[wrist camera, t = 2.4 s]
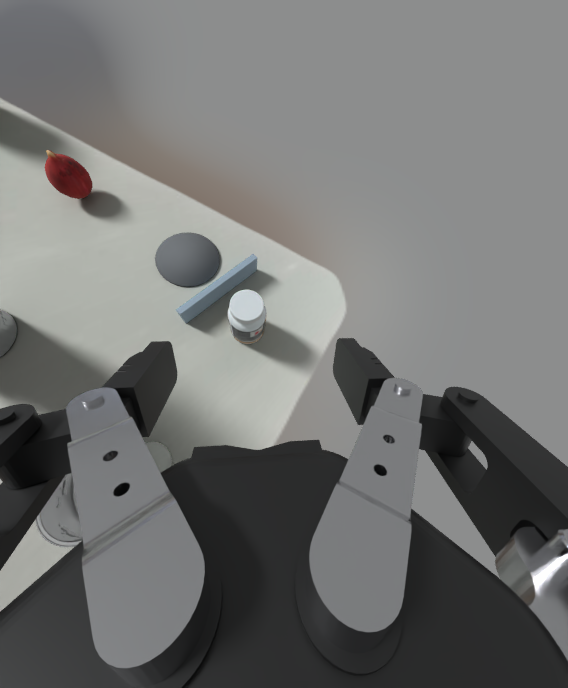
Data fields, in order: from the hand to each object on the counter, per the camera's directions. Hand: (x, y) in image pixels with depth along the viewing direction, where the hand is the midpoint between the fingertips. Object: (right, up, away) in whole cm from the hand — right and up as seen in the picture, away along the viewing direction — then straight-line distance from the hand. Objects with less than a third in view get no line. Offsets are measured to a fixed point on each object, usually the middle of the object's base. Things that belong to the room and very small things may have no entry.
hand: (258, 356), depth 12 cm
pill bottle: (-5, +3, +30) cm, 31 cm away
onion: (-36, +28, +33) cm, 56 cm away
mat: (-16, +16, +32) cm, 39 cm away
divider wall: (-10, +10, +31) cm, 34 cm away
